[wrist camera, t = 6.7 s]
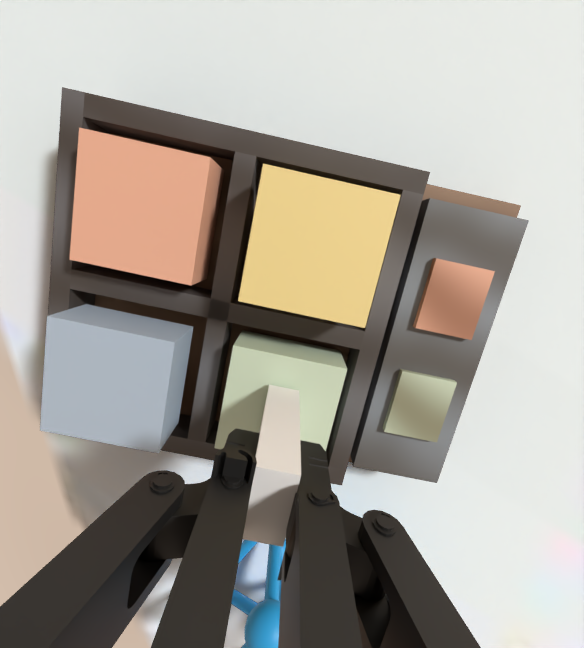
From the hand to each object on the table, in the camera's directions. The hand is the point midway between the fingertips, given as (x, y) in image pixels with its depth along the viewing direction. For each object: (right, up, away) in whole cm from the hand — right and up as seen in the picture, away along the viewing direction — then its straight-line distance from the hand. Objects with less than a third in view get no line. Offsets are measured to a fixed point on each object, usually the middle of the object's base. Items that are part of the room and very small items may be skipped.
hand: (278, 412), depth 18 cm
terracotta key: (-6, +10, +1) cm, 12 cm away
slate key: (-8, +2, +2) cm, 8 cm away
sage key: (0, +1, +3) cm, 3 cm away
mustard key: (+2, +8, 0) cm, 8 cm away
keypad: (0, +5, +5) cm, 7 cm away
